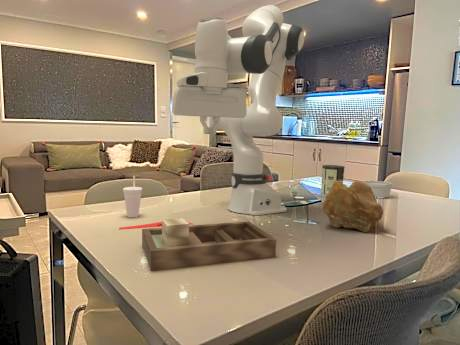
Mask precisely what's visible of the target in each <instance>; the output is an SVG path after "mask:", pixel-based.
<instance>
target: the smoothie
mask: <svg viewBox="0 0 460 345" xmlns="http://www.w3.org/2000/svg"><path fill="white" fill-rule="evenodd" d="M132 176H133V177H132V178H133V179H132V182H133V184H132V185H133V186H127V187H124V188H122V192H123V195H124V202H125V208H126V209H125V211H126V217H127V216H128V217H127V218H129V217H136V218H139V213H140V206H141V198H142V192H143V187H141V186H140V187H139V186H136V176H135V175H132Z"/></svg>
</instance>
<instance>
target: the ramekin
mask: <svg viewBox="0 0 460 345" xmlns="http://www.w3.org/2000/svg"><path fill="white" fill-rule="evenodd" d="M362 182H363V183H366V184H367V185H369V186H370V187H371V189H372V191H373V194H374V195H375V197H388V196H389V197H390V194H391V191H392V187H393V183H391V182H388V181H383V180H380V181H379V180H363V181H362ZM389 197H388V198H389Z"/></svg>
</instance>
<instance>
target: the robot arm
mask: <svg viewBox="0 0 460 345" xmlns="http://www.w3.org/2000/svg"><path fill="white" fill-rule="evenodd" d="M228 30H229V28H228V22H227V20H226V19H224V18H221V17H211V18H210V17H209V18H205V19H201V20H200V21H199V22H198V23H197V27H196V32H195V38H194V40H195V41H194V55H195V61H196V62H195V65H194V70H193V71H194V73H193V74H188V75H185V76H182V77H179V78H178V79H177V81H176V87H178V88H176V90H174V92H173V96H172V105H171V106H172V107H171V112H172V113H173V115H174V116H180V117H183V116H184V117H199V122H200V123H201V126H202V127H203V135H216V134H217V133H216V132H217V130H216V129H217V127H218V126H220V128H221V130H222V131H223V132H224V133H225V134H226V135H227V137H228V139H229V141H230V144H231V148H232V152H233V155H232V156H233V168H232V169H233V171H232V174H231V187H232V188H231V194H230V199H229V202H228V207H227V210H229V211H230V212H233V213H239V214H246V215H250V216H261V215H269V214H277V213H286V212H287V211H288V210H287V207H286V206H285V205H283V206H281V205H282V200H281V195H280V194H279V192H278V191H277V190H276V189H274V188H273V187H272V186H271V185H269V184H268V182H269V181H271V180H272V175H270V174H265V173H264V171H263V170H264V153H263V151H262V150H261V148H260V147H258V146H257V145H256V144H255V142H254V137H263V138H264V137H269V136H270V137H271V136H276V135H277V134H278V133H279V132H280V131H281V129H282V127H283V124H284V123H283V121H284V119H283V115H282V113H281V110H279V108H278V107H277V106H276V99H277V98H276V97H277V95H278V91H279V88H280V85H281V83H282V80H283V77H284V74H285V70H286V61H290V60H291V61H292V59H293V57H296V56H297V55H298V54H299V53H300V52H301V50H302V49H303V46H304V42H305V32H304V29H303V27H301V26H299V25H298V24H294V23H293V24H289V23H284V14H283V11H282V10H281V9H280V7H278V6H276V5H273V4H268V5H264V6H261V7H259V8H256V9H255V10H254V11H252V12H251V13H250V14H249V15H248V16H247V17H246V18H245V19H244V21H243V24H242V28H241V30H242V37H241V36H240V37H234V38H233V37H231V36H230V34H229V31H228ZM240 74H242V75H243V74H252V77H251V80H250V82H249V84H248V87H247V88H246V87H245V86H244V85H242V84H240V83H236V84H235V83H230V82H228V75H240ZM247 94H248V96H249V98H250V99H251V101H252V103H251V104H250V105H247V100H246V99H247ZM209 117H210V118H212V121H213V124H212V126H211V127H209V126H208V125H207V122H206V121H208V118H209ZM267 181H268V182H267Z"/></svg>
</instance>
